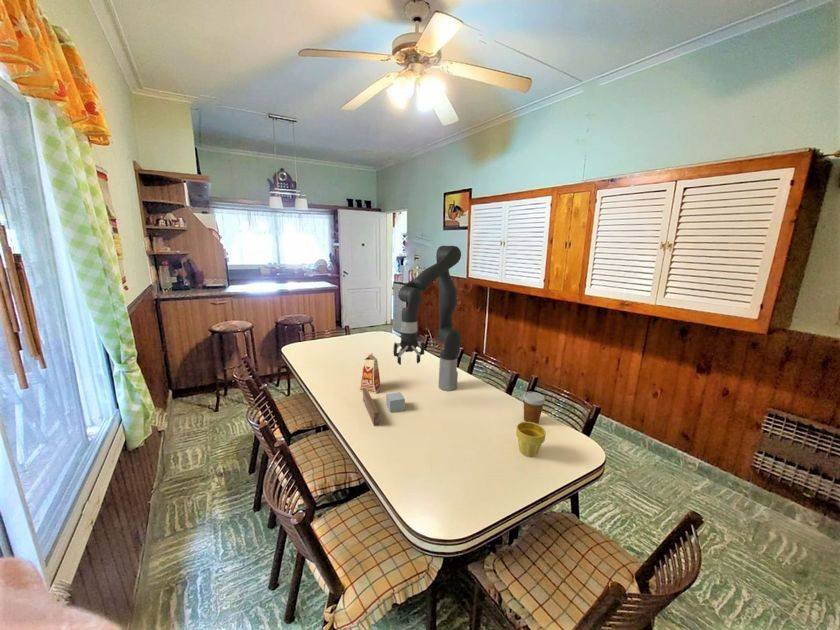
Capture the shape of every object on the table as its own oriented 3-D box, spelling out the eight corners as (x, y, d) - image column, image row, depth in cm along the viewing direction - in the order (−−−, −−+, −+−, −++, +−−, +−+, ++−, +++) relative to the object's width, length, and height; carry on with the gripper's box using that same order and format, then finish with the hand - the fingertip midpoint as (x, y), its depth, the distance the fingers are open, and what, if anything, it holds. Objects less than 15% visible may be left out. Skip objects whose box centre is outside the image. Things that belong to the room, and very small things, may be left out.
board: (366, 399, 160) (366, 388, 159) (378, 425, 138) (378, 412, 137) (362, 399, 159) (362, 388, 158) (373, 425, 137) (373, 413, 136)
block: (400, 403, 157) (400, 392, 156) (404, 410, 151) (404, 398, 150) (386, 405, 155) (386, 394, 154) (390, 412, 149) (390, 400, 147)
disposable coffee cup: (515, 417, 148) (518, 393, 145) (532, 413, 152) (534, 389, 149) (530, 428, 140) (533, 402, 137) (547, 424, 143) (550, 399, 141)
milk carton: (375, 393, 166) (375, 356, 162) (358, 391, 168) (358, 355, 163) (381, 386, 175) (381, 351, 170) (365, 384, 177) (364, 349, 172)
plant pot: (527, 463, 117) (529, 439, 115) (508, 446, 126) (511, 424, 124) (548, 456, 121) (552, 433, 119) (529, 441, 130) (532, 419, 128)
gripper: (422, 327, 154) (421, 359, 157) (392, 328, 150) (392, 361, 154) (426, 331, 146) (425, 365, 150) (395, 333, 143) (394, 367, 147)
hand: (408, 363), depth 152 cm, fingers open, 8 cm apart
